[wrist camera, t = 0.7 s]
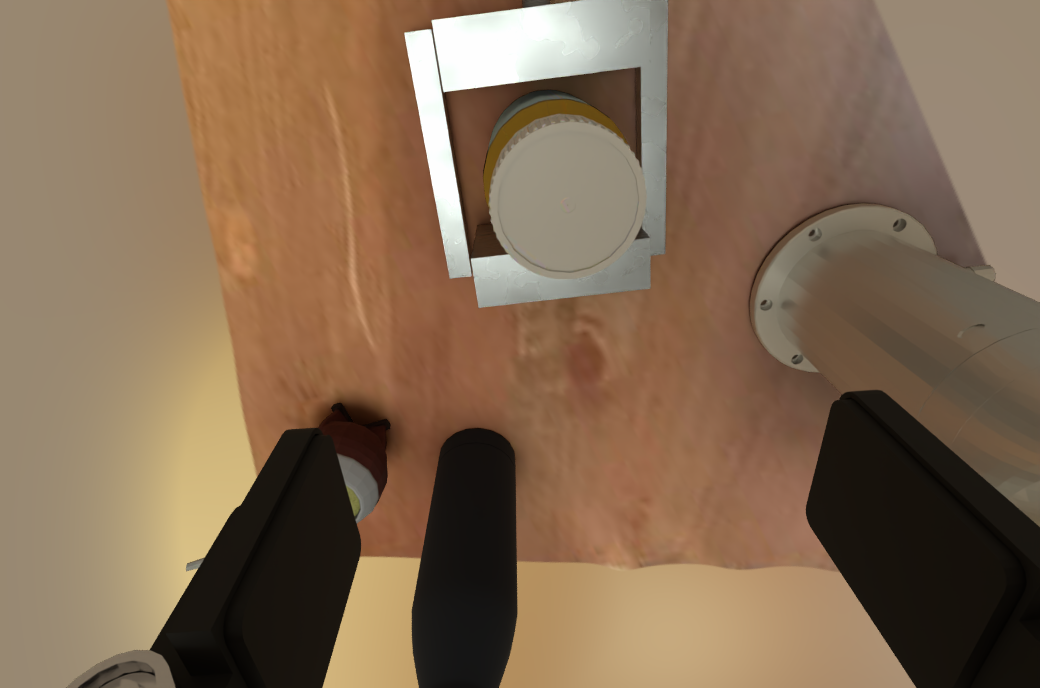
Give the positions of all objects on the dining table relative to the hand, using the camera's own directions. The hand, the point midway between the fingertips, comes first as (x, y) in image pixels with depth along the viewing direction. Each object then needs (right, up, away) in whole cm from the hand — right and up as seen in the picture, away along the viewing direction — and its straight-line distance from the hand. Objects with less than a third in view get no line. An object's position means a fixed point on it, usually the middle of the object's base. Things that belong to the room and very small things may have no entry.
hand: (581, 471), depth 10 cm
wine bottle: (-5, -7, +35) cm, 36 cm away
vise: (0, +16, +23) cm, 28 cm away
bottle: (0, +15, +24) cm, 28 cm away
